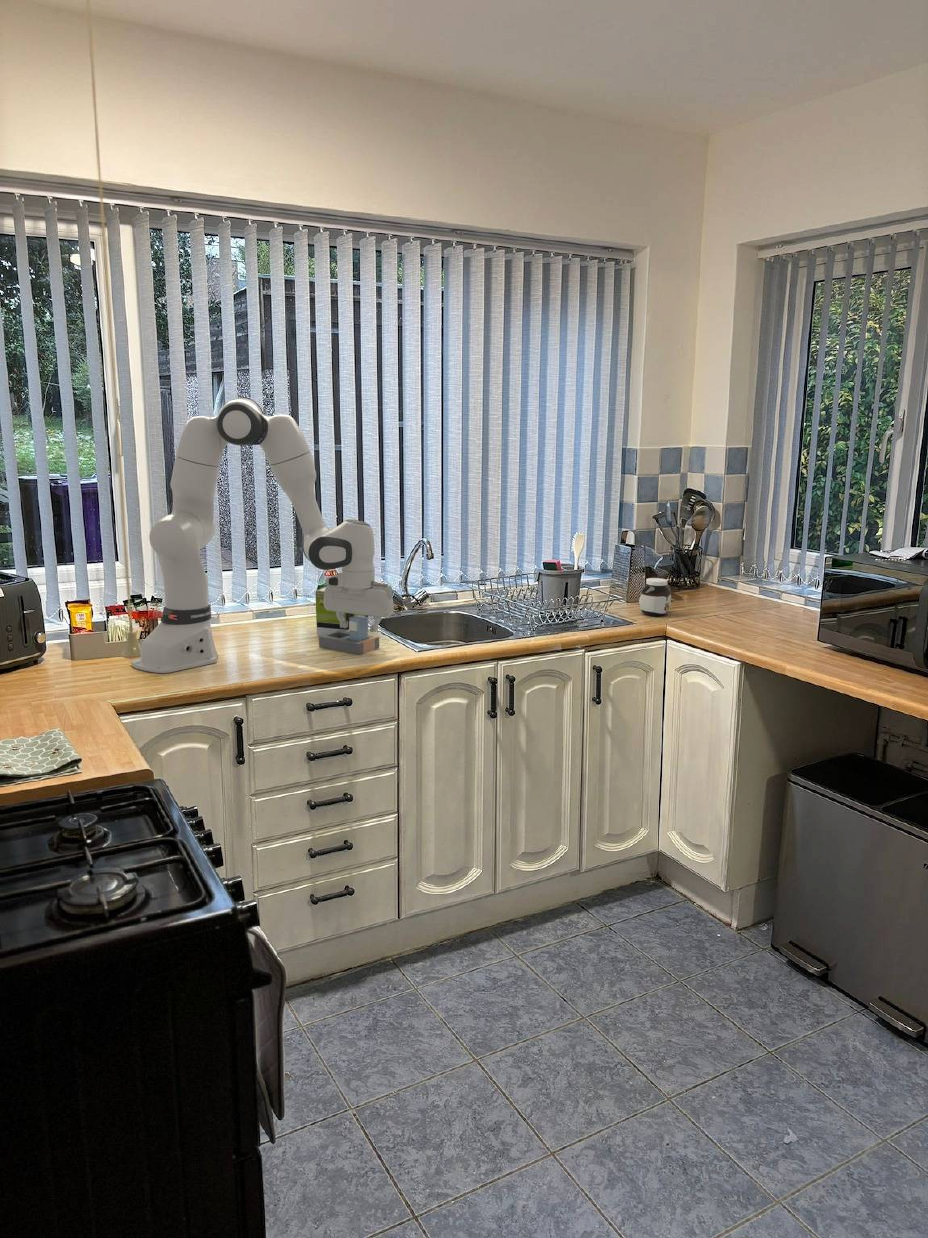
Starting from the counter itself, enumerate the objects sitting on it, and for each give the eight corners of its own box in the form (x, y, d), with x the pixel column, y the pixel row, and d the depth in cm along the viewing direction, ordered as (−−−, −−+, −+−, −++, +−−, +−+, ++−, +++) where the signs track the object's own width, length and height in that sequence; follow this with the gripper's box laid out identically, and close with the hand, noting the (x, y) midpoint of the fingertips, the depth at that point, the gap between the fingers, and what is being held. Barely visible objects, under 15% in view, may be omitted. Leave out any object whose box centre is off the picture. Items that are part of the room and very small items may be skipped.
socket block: (358, 658, 251) (358, 643, 250) (319, 650, 258) (318, 635, 257) (379, 651, 258) (379, 636, 258) (340, 643, 266) (339, 629, 265)
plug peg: (357, 652, 253) (357, 620, 251) (347, 650, 255) (347, 618, 253) (368, 649, 257) (367, 617, 255) (358, 647, 259) (358, 615, 257)
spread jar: (655, 618, 303) (657, 583, 300) (627, 612, 311) (629, 578, 308) (676, 613, 311) (679, 579, 308) (649, 607, 319) (651, 574, 316)
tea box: (339, 627, 284) (338, 580, 281) (369, 631, 281) (368, 582, 278) (315, 639, 271) (314, 589, 267) (346, 642, 267) (346, 592, 264)
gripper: (397, 581, 251) (397, 631, 254) (332, 574, 259) (333, 623, 262) (386, 585, 245) (386, 636, 248) (320, 578, 253) (321, 627, 256)
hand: (358, 629), depth 255 cm, fingers open, 8 cm apart
